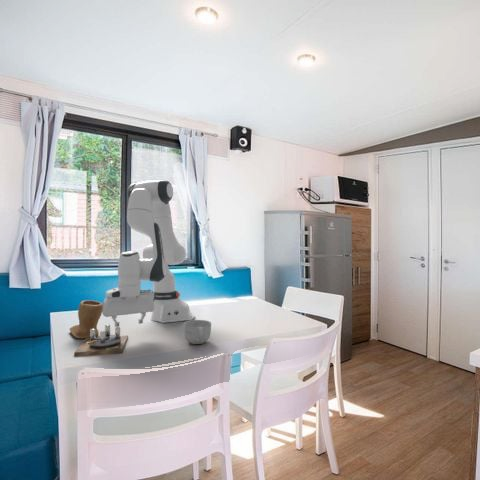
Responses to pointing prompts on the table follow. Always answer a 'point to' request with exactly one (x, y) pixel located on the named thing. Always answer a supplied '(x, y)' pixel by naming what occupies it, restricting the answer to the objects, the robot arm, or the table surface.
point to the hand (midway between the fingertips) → (129, 324)
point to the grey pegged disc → (104, 338)
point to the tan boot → (87, 318)
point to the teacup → (197, 331)
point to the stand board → (89, 350)
